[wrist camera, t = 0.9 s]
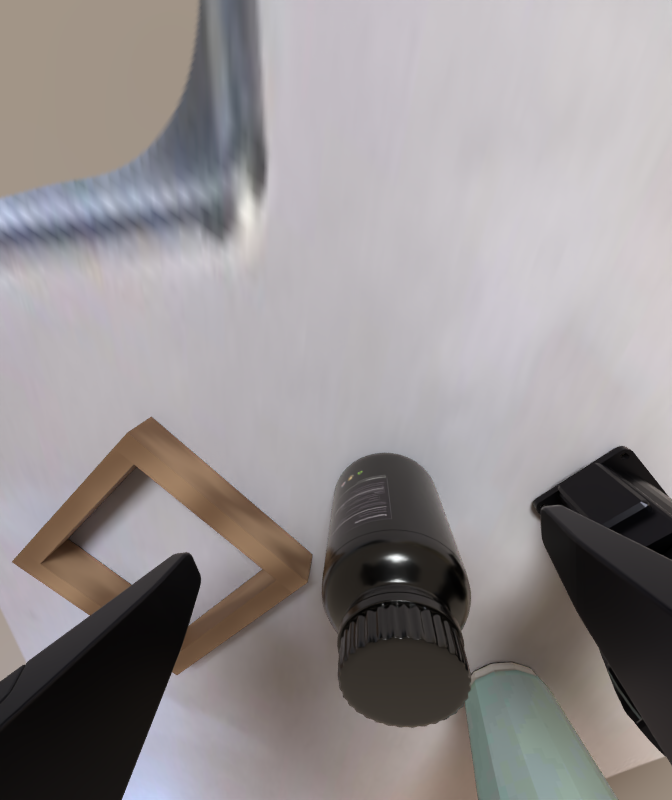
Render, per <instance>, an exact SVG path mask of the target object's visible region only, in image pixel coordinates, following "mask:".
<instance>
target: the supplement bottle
mask: <svg viewBox="0 0 672 800" xmlns="http://www.w3.org/2000/svg"><path fill="white" fill-rule="evenodd" d="M322 601H323V606H324V609H325V612H326V615H327V617H328V619H329V621H330V623H331V625H332V626H333V628H334V629H335V631H336V632H337V633H338V652H339V662H338V680H339V688H340V690H341V691H342V692H343V697H344V698H345V699H346V700H347V701H348V704H349V705H350V706H352V707H353V708H355V710H356V711H357V712H359V713H361V714H363V715H364V716H365V717H366V718H369V719H373V720H374V721H375V722H378V723H384V724H386V725H388V726H397V727H412V728H413V727H417V726H427V725H429V724H436V723H438V722H439V721H441V720H445V719H447V718H448V717H449V716H451V715H453V714H456V712H457V711H458V709H460V708H461V707H463V705H464V702H465V701H466V700H467V699H468V693H469V692H470V691H471V684H470V683H471V673H470V669H469V665H468V661H467V657H466V654H465V650H464V640H463V636H462V633H461V630H462V629H463V627H464V625H465V623H466V620H467V617H468V614H469V610H470V605H471V590H470V584H469V581H468V577H467V574H466V571H465V568H464V565H463V562H462V559H461V557H460V554H459V551H458V548H457V545H456V543H455V540H454V537H453V534H452V531H451V529H450V526H449V523H448V520H447V518H446V515H445V512H444V509H443V506H442V504H441V501H440V498H439V495H438V492H437V490H436V487H435V485H434V483H433V481H432V479H431V477H430V475H429V474H428V473H427V471H426V470H425V469H424V468H423V467H422V466H420V465H419V464H418V463H417V462H415V461H413V460H412V459H410V458H408V457H405V456H402V455H398V454H393V453H377V454H372V455H368V456H365V457H363V458H360V459H358V460H357V461H355V462H354V463H352V464H351V465H350V466H349V467H348V468H347V469H346V470H345V471H344V472H343V473H342V475H341V476H340V478H339V480H338V482H337V485H336V488H335V493H334V499H333V506H332V513H331V520H330V528H329V535H328V543H327V550H326V557H325V565H324V572H323V581H322Z"/></svg>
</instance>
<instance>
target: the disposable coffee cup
mask: <svg viewBox="0 0 672 800" xmlns="http://www.w3.org/2000/svg"><path fill="white" fill-rule="evenodd" d="M470 684H471V691H470V692H469V693H468V699H467V700H466V701H465V709H466V716H467V723H468V730H469V738H470V745H471V752H472V759H473V766H474V773H475V781H476V788H477V795H478V800H618V798H617V797H616V795H615V794H614V792H613V790H612V789H611V787H610V786H609V784H608V782H607V781H606V779H605V778H604V776H603V774H602V773H601V771H600V770H599V768H598V766H597V765H596V763H595V762H594V760H593V758H592V757H591V755H590V754H589V752H588V750H587V749H586V747H585V746H584V744H583V742H582V741H581V739H580V738H579V736H578V734H577V733H576V731H575V730H574V728H573V726H572V725H571V723H570V722H569V720H568V718H567V717H566V715H565V714H564V712H563V710H562V709H561V707H560V706H559V704H558V702H557V701H556V699H555V698H554V696H553V694H552V693H551V691H550V690H549V688H548V687H547V686H546V685H545V684H544V683H543V682H542V681H541V679H540V678H539V677H538V676H537V675H536V674H535V673H534V672H533V671H532V670H531V669H530V668H528V667H525V666H522V665H519V664H516V663H512V662H510V663H496V664H490V665H488V666H486V667H484V668H481V669H479V670H477V671H475V672H474V673H473V674H472V675H471V683H470Z"/></svg>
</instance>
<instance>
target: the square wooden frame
mask: <svg viewBox="0 0 672 800" xmlns="http://www.w3.org/2000/svg"><path fill="white" fill-rule="evenodd" d="M136 467H138V468H139V469H140V470H141V471H143V472H144V473H145V474H146V475H148V476H149V477H150V478H151V479H153V480H154V481H155V482H156V483H158V484H159V485H160V486H161V487H162V488H164V489H165V490H166V491H167V492H169V493H170V494H171V495H172V496H174V497H175V498H176V499H177V500H178V501H180V502H181V503H182V504H183V505H185V506H186V507H187V508H188V509H190V510H191V511H192V512H193V513H194V514H196V515H197V516H198V517H199V518H201V519H202V520H203V521H204V522H206V523H207V524H208V525H209V526H210V527H212V528H213V529H214V530H215V531H217V532H218V533H219V534H220V535H222V536H223V537H224V538H225V539H226V540H228V541H229V542H230V543H231V544H233V545H234V546H235V547H236V548H238V549H239V550H240V551H241V552H242V553H244V554H245V555H246V556H247V557H249V558H250V559H251V560H252V561H254V562H255V563H256V564H257V565H258V566H260V567H261V568H262V570H261V571H260V572H258V573H257V574H256V575H255V576H253V577H252V578H251V579H249V580H248V581H247V582H245V583H244V584H243V585H242V586H240V587H239V588H238V589H236V590H235V591H234V592H232V593H231V594H230V595H228V596H227V597H226V598H225V599H223V600H222V601H221V602H219V603H218V604H217V605H215V606H214V607H213V608H211V609H210V610H209V611H208V612H206V613H205V614H204V615H202V616H201V617H200V618H198V619H197V620H196V621H195V622H193V623H192V624H191V625H189V626H188V629H187V632H186V635H185V638H184V641H183V644H182V647H181V650H180V653H179V655H178V658H177V660H176V663H175V666H174V668H173V671H172V672H173V673H174V674H176V675H178V674H179V673H181V672H182V671H184V670H185V669H186V668H188V667H189V666H191V665H192V664H194V663H195V662H196V661H198V660H199V659H201V658H202V657H203V656H205V655H206V654H208V653H209V652H210V651H212V650H213V649H215V648H216V647H217V646H219V645H220V644H222V643H223V642H224V641H226V640H227V639H229V638H230V637H231V636H233V635H234V634H236V633H237V632H238V631H240V630H241V629H243V628H244V627H246V626H247V625H248V624H250V623H251V622H253V621H254V620H255V619H257V618H258V617H260V616H261V615H262V614H264V613H265V612H267V611H268V610H269V609H271V608H272V607H274V606H275V605H276V604H278V603H279V602H281V601H282V600H283V599H285V598H286V597H288V596H289V595H290V594H292V593H293V592H295V591H296V590H298V589H299V588H300V587H302V586H303V585H305V584H306V583H307V582H308V577H309V571H310V566H311V560H312V554H311V553H310V552H309V551H308V550H307V549H305V548H304V547H303V546H302V545H301V544H300V543H298V542H297V541H296V540H295V539H294V538H293V537H291V536H290V535H289V534H288V533H287V532H286V531H284V530H283V529H282V528H281V527H280V526H279V525H277V524H276V523H275V522H274V521H273V520H272V519H270V518H269V517H268V516H267V515H266V514H264V513H263V512H262V511H261V510H260V509H259V508H257V507H256V506H255V505H254V504H253V503H252V502H250V501H249V500H248V499H247V498H246V497H245V496H243V495H242V494H241V493H240V492H239V491H238V490H236V489H235V488H234V487H233V486H232V485H231V484H229V483H228V482H227V481H226V480H225V479H224V478H222V477H221V476H220V475H219V474H218V473H217V472H215V471H214V470H213V469H212V468H211V467H210V466H208V465H207V464H206V463H205V462H204V461H203V460H201V459H200V458H199V457H198V456H197V455H196V454H194V453H193V452H192V451H191V450H190V449H189V448H187V447H186V446H185V445H184V444H183V443H182V442H180V441H179V440H178V439H177V438H176V437H174V436H173V435H172V434H171V433H170V432H169V431H167V430H166V429H165V428H164V427H163V426H162V425H160V424H159V423H158V422H157V421H156V420H155V419H153V418H152V417H150V418H149V419H147V420H146V421H144V422H143V423H141V424H140V425H138V426H137V427H135V428H134V429H132V430H131V431H129V432H128V433H127V434H126V435H125V436H124V437H123V438H122V439H121V440H120V442H119V443H118V444H117V445H116V446H115V447H114V448H113V449H112V450H111V452H110V453H109V454H108V455H107V456H106V457H105V458H104V459H103V461H102V462H101V463H100V464H99V465H98V466H97V467H96V468H95V469H94V471H93V472H92V473H91V474H90V475H89V476H88V477H87V478H86V480H85V481H84V482H83V483H82V484H81V485H80V486H79V487H78V488H77V490H76V491H75V492H74V493H73V494H72V495H71V496H70V497H69V499H68V500H67V501H66V502H65V503H64V504H63V505H62V506H61V507H60V509H59V510H58V511H57V512H56V513H55V514H54V515H53V516H52V518H51V519H50V520H49V521H48V522H47V523H46V524H45V525H44V526H43V528H42V529H41V530H40V531H39V532H38V533H37V534H36V535H35V537H34V538H33V539H32V540H31V541H30V542H29V543H28V544H27V546H26V547H25V548H24V549H23V550H22V551H21V552H20V553H19V554H18V556H17V557H16V558H15V559H14V560H13V561H12V562H13V563H14V564H16V565H17V566H18V567H20V568H21V569H23V570H24V571H26V572H27V573H29V574H30V575H32V576H33V577H34V578H36V579H37V580H39V581H40V582H42V583H43V584H45V585H46V586H48V587H49V588H50V589H52V590H53V591H55V592H56V593H58V594H59V595H61V596H62V597H64V598H65V599H67V600H68V601H69V602H71V603H72V604H74V605H75V606H77V607H78V608H80V609H81V610H83V611H84V612H85V613H87V614H88V615H92V614H93V613H94V612H96V611H97V610H98V609H100V608H101V607H103V606H104V605H105V604H107V603H108V602H109V601H111V600H112V599H113V598H115V597H116V596H118V595H119V594H120V593H122V592H123V591H124V590H126V589H127V588H128V587H130V586H131V584H129V583H128V582H127V581H125V580H124V579H122V578H121V577H120V576H118V575H117V574H116V573H114V572H113V571H111V570H110V569H109V568H107V567H106V566H105V565H103V564H102V563H100V562H99V561H98V560H96V559H95V558H94V557H92V556H91V555H89V554H88V553H87V552H85V551H84V550H83V549H81V548H80V547H78V546H77V545H76V544H74V543H73V542H72V541H70V540H69V539H68V538H69V537H70V536H71V535H72V534H73V533H74V532H75V531H76V530H77V529H78V528H79V527H80V526H81V525H82V524H83V522H84V521H85V520H86V519H87V518H88V517H89V516H90V515H91V514H92V513H93V512H94V511H95V510H96V509H97V508H98V507H99V506H100V505H101V504H102V502H103V501H104V500H105V499H106V498H107V497H108V496H109V495H110V494H111V493H112V492H113V491H114V490H115V489H116V488H117V487H118V486H119V485H120V483H121V482H122V481H123V480H124V479H125V478H126V477H127V476H128V475H129V474H130V473H131V472H132V471H133V470H134V469H135V468H136Z"/></svg>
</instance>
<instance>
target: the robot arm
mask: <svg viewBox="0 0 672 800" xmlns="http://www.w3.org/2000/svg"><path fill="white" fill-rule="evenodd" d="M623 453H625V454H624V455H623V456H622V457H621V455H622V454H623ZM542 504H545V505H544V506H542V507H540V506H541V505H542ZM533 506H534V507H535V509H536V510H537V511H538V512H539V514H540V515H541V533H542V540H543V543H544V546H545V548H546V550H547V552H548V554H549V556H550V558H551V560H552V562H553V564H554V566H555V568H556V571H557V573H558V575H559V577H560V579H561V581H562V583H563V585H564V587H565V589H566V591H567V593H568V595H569V597H570V599H571V601H572V603H573V605H574V607H575V609H576V611H577V613H578V614H579V616H580V618H581V620H582V621H583V623H584V625H585V626H586V628H587V629H588V631H589V633H590V634H591V636H592V637H593V639H594V641H595V642H596V644H597V646H598V647H599V650H600V653H601V655H602V658H603V660H604V663H605V666H606V668H607V671H608V673H609V676H610V679H611V681H612V684H613V686H614V689H615V691H616V693H617V696H618V698H619V700H620V701H621V704H622V706H623V709H624V710H625V712H626V713H627V715H628V716H629V717H630V718H631V719H632V720H633V721H634V722H635V724H636V725H637V726H638V728H639V729H640V730H641V731H642V732H643V733H644V735H645V736H646V737H647V738H648V739H649V740H650V741H651V742H652V743H653V745H654V746H655V747H656V748H657V749H658V750H659V751H660V752H661V753H662V754H663V755H665V756H666V757H667V758H668V760H669V762H670V763H671V765H672V499H671V498H669V496H668V495H667V494H666V493H665V491H664V490H663V489H662V488H661V486H660V485H659V484H658V483H657V481H656V480H655V479H654V478H653V476H652V475H651V474H650V472H649V471H648V470H647V469H646V467H645V466H644V465H643V464H642V462H641V461H640V460H639V459H638V457H637V456H636V455H635V454H634V452H633V451H631V450H630V449H628V448H627V447H625V446H619V447H617V448H615V449H613V450H612V451H610V452H609V453H607V454H606V455H604V456H603V457H601V458H599V459H598V460H596V461H595V462H593V463H592V464H590V465H588V466H587V467H585V468H584V469H582V470H581V471H579V472H577V473H576V474H574V475H573V476H571V477H570V478H568V479H567V480H565V481H563V482H562V483H560V484H559V485H557V486H556V487H554V488H552V489H551V490H549V491H548V492H546V493H545V494H543V495H541V496H540V497H538V498H537V499H536V500H535V501H534V503H533ZM200 584H201V576H200V573H199V571H198V568H197V566H196V564H195V561H194V559H193V557H192V555H191V554H190V553H187V552H185V553H178V554H174V555H172V556H171V557H169V558H168V559H167V560H165V561H164V562H162V563H161V564H160V565H158V566H157V567H156V568H154V569H153V570H152V571H150V572H149V573H147V574H146V575H145V576H143V577H142V578H141V579H139V580H138V581H137V582H135V583H134V584H133V585H131V586H130V587H128V588H127V589H126V590H124V591H123V592H122V593H120V594H119V595H118V596H116V597H115V598H113V599H112V600H111V601H109V602H108V603H107V604H105V605H104V606H103V607H101V608H100V609H98V610H97V611H96V612H94V613H93V614H92V615H90V616H89V617H88V618H86V619H85V620H84V621H82V622H81V623H79V624H78V625H77V626H75V627H74V628H73V629H71V630H70V631H69V632H67V633H66V634H64V635H63V636H62V637H60V638H59V639H58V640H56V641H55V642H54V643H52V644H51V645H49V646H48V647H47V648H45V649H44V650H43V651H41V652H40V653H39V654H37V655H36V656H35V657H33V658H32V659H30V660H29V661H28V662H27V663H26V665H22V666H21V667H19V668H18V669H17V670H15V671H14V672H13V673H11V674H10V675H9V676H7V677H6V678H4V679H3V680H2V681H0V800H122V798H123V795H124V793H125V790H126V787H127V785H128V782H129V780H130V777H131V775H132V772H133V770H134V767H135V765H136V762H137V760H138V757H139V754H140V752H141V749H142V747H143V744H144V742H145V739H146V737H147V734H148V732H149V729H150V727H151V724H152V721H153V719H154V716H155V714H156V711H157V709H158V706H159V704H160V701H161V699H162V696H163V693H164V691H165V688H166V686H167V683H168V681H169V678H170V676H171V673H172V671H173V668H174V666H175V663H176V660H177V658H178V655H179V653H180V650H181V647H182V644H183V641H184V638H185V635H186V632H187V629H188V625H189V622H190V619H191V615H192V612H193V608H194V605H195V602H196V598H197V595H198V592H199V588H200Z"/></svg>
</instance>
